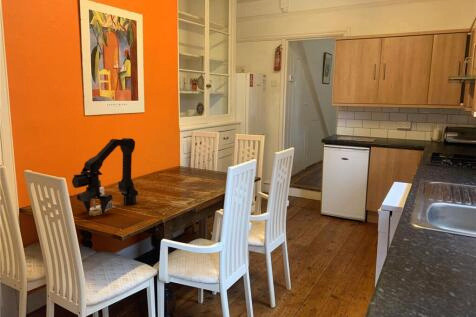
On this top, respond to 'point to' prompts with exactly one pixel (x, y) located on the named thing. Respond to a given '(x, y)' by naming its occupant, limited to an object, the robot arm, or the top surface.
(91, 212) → the brass gear
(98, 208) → the birch gear board
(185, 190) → the top surface
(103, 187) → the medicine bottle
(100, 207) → the grey gear
